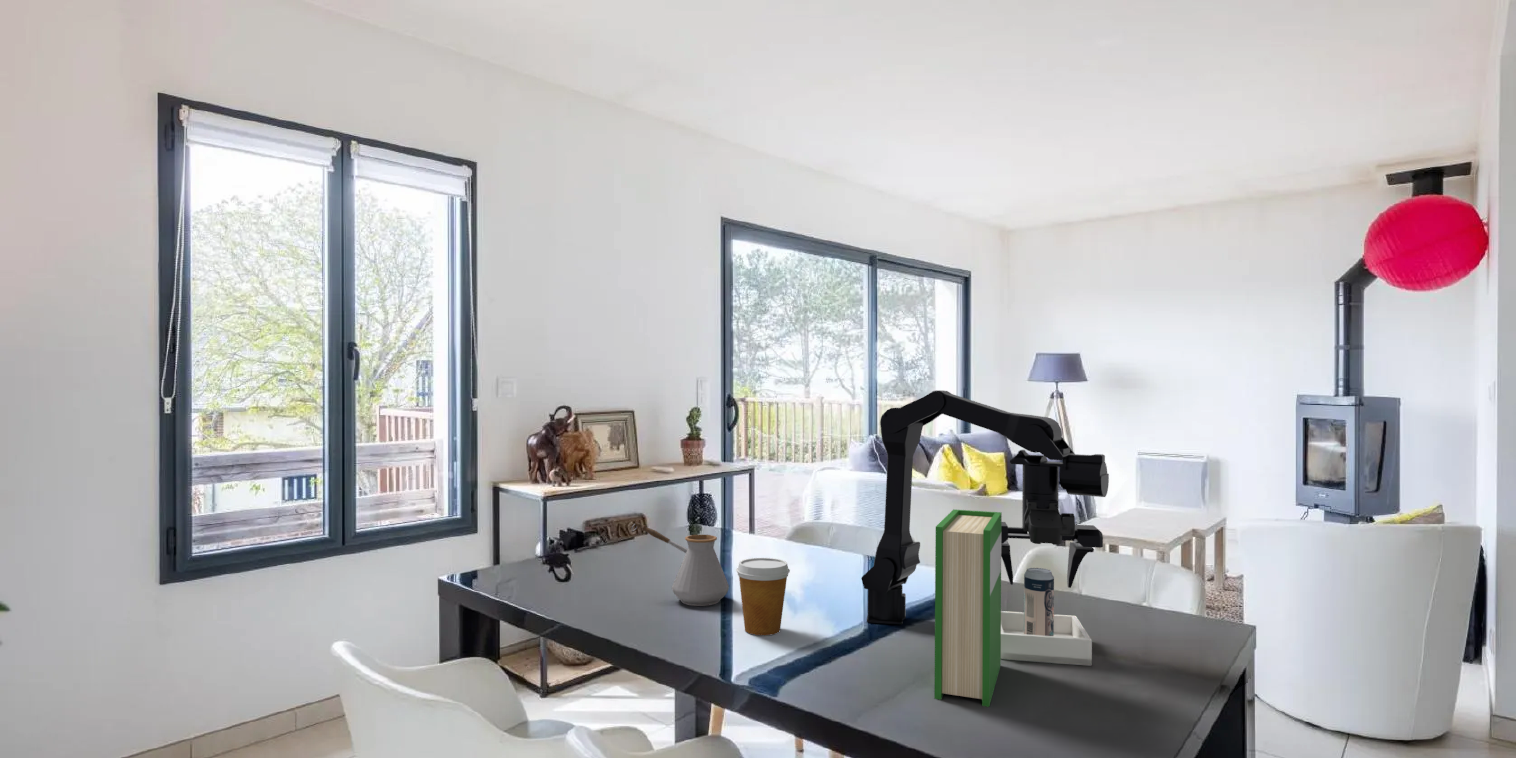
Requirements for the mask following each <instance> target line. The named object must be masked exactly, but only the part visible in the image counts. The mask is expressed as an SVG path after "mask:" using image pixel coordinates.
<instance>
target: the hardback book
mask: <svg viewBox="0 0 1516 758" xmlns="http://www.w3.org/2000/svg"><path fill="white" fill-rule="evenodd" d="M1002 517H1003V516H1002V512H1001V511H1000V512H998V511H986V510H985V511H984V510H971V509H970V510H968V509H967V510H966V509H954V508H953V509H952V510H951V511H950V512H949V513H948V514H947V515H945V517H944V518H943V519H942V520H941V521H939V523H938V524H936V526H935V547H934V548H935V562H934V564H935V566H934V568H935V569H934V571H935V572H934V573H935V577H934V579H935V582H934V583H935V584H934V687H933V689H934V691H933V692H934V696H933V697H934V698H933V699H934V700H935V699H936V700H939V701H940V700H942V699H943V696H944V694H945V695H952V696H958V697H959V696H960V697H965V698H972V699H978V700H981V706H982V707H987V708H989V707H990V706H991V701H992V697H993V694H994V690H995V687H996V684H997V680H998V676H999V673H1000V670H1001V666H1002V665H1001V662H1002V661H1001V660H1002V659H1001V611H1002V557H1001V522H1003V521H1002Z"/></svg>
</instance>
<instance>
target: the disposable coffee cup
mask: <svg viewBox="0 0 1516 758" xmlns="http://www.w3.org/2000/svg"><path fill="white" fill-rule="evenodd" d="M737 566H738V567H736V570H735V572H736V573H737V576H738V580H739V581H738V582H739V589H740V597H741V598H740V599H741V607H742V617H743V624H744V631H745V633H747V632H748V633H747V634H749V635H753V634H755V636H762V635H764V636H772V635H775V634H778V633H780V632H781V625H782V616H783V609H784V603H785V602H784V601H785V595H786V587H787V580H788V579H787V578H788V577H789V573H790V571H791V569H790V568H789V565H788V562H787V561H785V560H783V559H779V558H773V557H772V558H771V557H752V558H751V557H750V558H745V559H742V560H739V562H738V565H737ZM779 631H780V632H779Z"/></svg>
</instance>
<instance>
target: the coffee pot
mask: <svg viewBox="0 0 1516 758" xmlns="http://www.w3.org/2000/svg"><path fill="white" fill-rule="evenodd" d="M634 526H635V528H634ZM633 528H634V529H633ZM637 528H640V529H641V531H643V532H644V531H645V532H646V533H647V534H649V535H650V536H651V537H653V538H655V539H657V540H660V541H661V542H664V543H665V544H669V545H671V546H672V547H674V548H676V549H678V550H679V551H681V552H683V553H684V554H685V555H684V557H683V559H682V562H681V565H680V567H679V569H678V572H677V574H676V576H675V578H674V580H673V583H672V586H671V589H672V592H673V594H674V596H676V598H677V599H679V600H680V602H681V603H683V605H688V606H692V607H706V606H707V607H708V606H712V605H716V604H719V602H720V600H721V599H723V598H724V597H725V596H726V595H727V594H728V591H729V590H730V589H729V588H730V585H729V583H728V581H727V578H726V575H725V572H724V570H723V568H722V565H721V563H720V561H719V558H718V556H717V553H716V550H715V548H714V546H715V541H717V540H718V538H717V536H716V535H712V534H691V535H687V536H685V537H684V540H685V541H686V543H687V547H688V548H686V547H684V546H683V545H681V544H679V543H677V542H675V541H673V540H671V539H669V538H668V537H667V536H665V535H664V534H662V533H660V532H659V531H657V530H655V529H652V528H649V527H647V525H646V524H645V525H643V524H641V523H640V522H637V521H635V522H634V523H633V525H632V526H631V529H630V530H631V532H634V531H635V530H637Z"/></svg>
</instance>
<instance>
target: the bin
mask: <svg viewBox="0 0 1516 758" xmlns="http://www.w3.org/2000/svg"><path fill="white" fill-rule="evenodd" d="M1092 647H1093V639H1092V638H1091V637H1090V635H1089V633H1088V632H1087V630H1086V629H1085V627H1084V626H1083V625H1082V623H1081V621H1080V620H1079V619H1078V617H1077V616H1076V615H1070V614H1067V615H1066V614H1054V636H1043V635H1029V634H1024V611H1023V612H1021V611H1008V610H1007V611H1006V610H1005V611H1004V610H1003V611H1002V610H1001V660H1008V661H1019V662H1020V661H1021V662H1035V663H1036V662H1037V663H1049V664H1051V663H1052V664H1062V665H1076V666H1089V667H1091V666H1092V665H1093V655H1092V654H1093V648H1092Z"/></svg>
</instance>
